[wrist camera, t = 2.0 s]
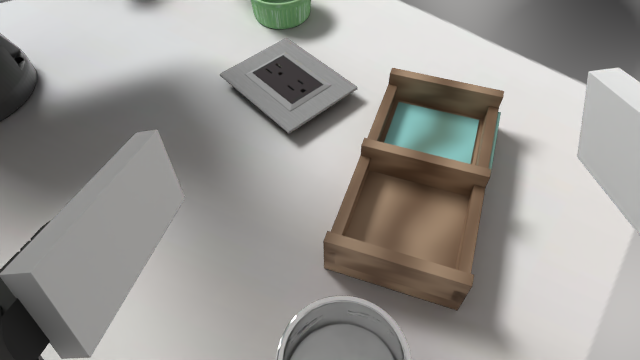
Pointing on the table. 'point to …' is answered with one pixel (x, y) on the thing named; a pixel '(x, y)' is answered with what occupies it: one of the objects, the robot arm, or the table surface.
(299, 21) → the ramekin
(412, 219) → the caddy
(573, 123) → the table surface
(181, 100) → the table surface
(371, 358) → the chrome pint tumbler
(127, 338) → the table surface
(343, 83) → the electrical outlet
